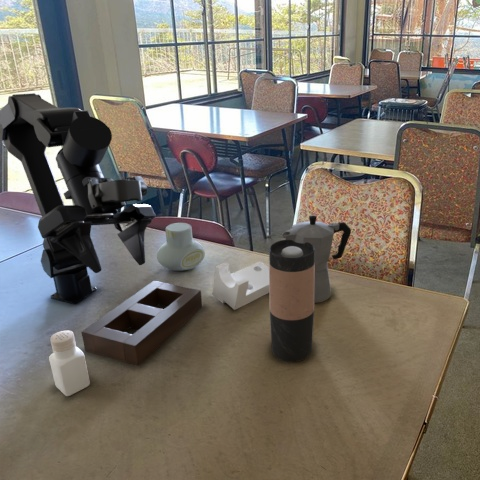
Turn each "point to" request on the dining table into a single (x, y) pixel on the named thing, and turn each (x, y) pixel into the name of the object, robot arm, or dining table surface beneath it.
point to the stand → (142, 322)
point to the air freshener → (180, 248)
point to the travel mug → (291, 299)
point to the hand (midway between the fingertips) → (121, 267)
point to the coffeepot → (320, 249)
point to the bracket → (240, 284)
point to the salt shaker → (68, 364)
